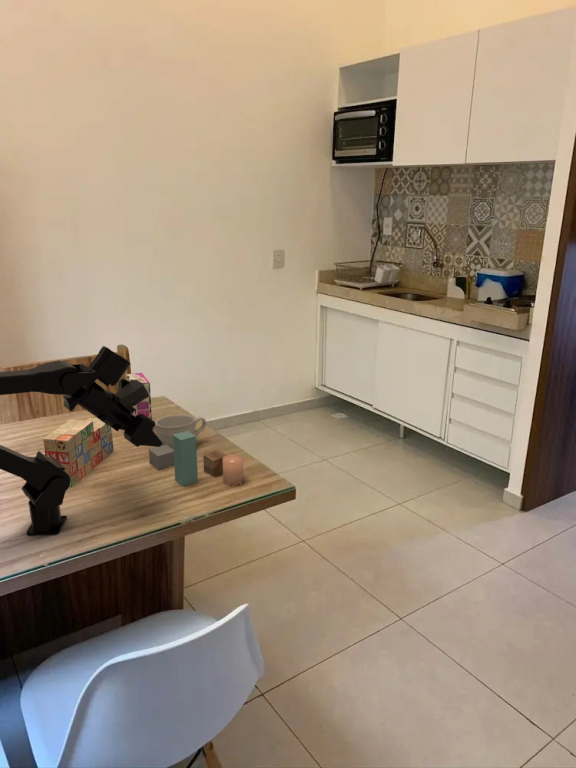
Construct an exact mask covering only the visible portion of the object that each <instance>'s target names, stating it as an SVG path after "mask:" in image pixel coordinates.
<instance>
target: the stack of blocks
mask: <svg viewBox="0 0 576 768" xmlns="http://www.w3.org/2000/svg"><path fill="white" fill-rule="evenodd" d="M42 440H43V446H44V455H45V456H48V457H54V458H55V459H56V460H57V461H58V462H59V463H60V464H61V465H62V466H63V467H64V468H65V470H64V471H65V472H66V473H67V474H68V475H69V476H70V485H69V488H73V487H75V486H76V484H78V483H79V482H81V481H82V479H84V478H85V477H86V476H87V475H89V474H90V472H92V470H94V468H96V467H97V466H98V465H99V464H100V463H101V462H102V461H104V460H105V459H106V458H107V457H108V456H109V455H110V454H111V453H112V452H113V451H114V441H113V429H112V427H110V426H109V425H107V424H105V423H104V422H102V421H101V420H100V419H98V418H97V417H88V418H87V419H86V420H82V419H81V420H80V419H69V420H67V421H66V422H65V423H64V424H61V426H59V427H58V428H57V429H55V430H54V431H52V432H51V433H49V434H48V435H46V436H44V438H42Z"/></svg>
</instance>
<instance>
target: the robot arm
mask: <svg viewBox="0 0 576 768" xmlns="http://www.w3.org/2000/svg"><path fill="white" fill-rule="evenodd" d="M131 365H132V363H131V362H129V361H128V359H126V358H125V357H123V356H121V355H120V354H117V353H116V352H114V351H113V350H112V349H110V348H109V347H107V346H106V345H102V347H101V348H100V349H99V351H98V353H97V355H96V356H95V358H93V360H92V361H91V363H90V364H89V365H87V364H84V363H74V364H73V363H72V364H71V363H69V362H67V361H65V360H55V361H50V362H46V363H41V364H40V365H37V366H35V367H32V368H29V369H20V370H19V369H18V370H8V371H0V396H6V395H15V394H25V393H41V394H42V393H43V394H48V395H57V396H58V395H60V396H62V398H63V406H64V408H66V409H67V410H68V411H70V412H73V411H74V409H75V408H76V407H77V406H79V407H81V408H82V409H84V410H85V411H87V412H88V413H90V414H91V415H93V416H94V417H95V418H98V419H100V420H101V421H102V422H104V423H105V424H107V425H109V426H110V427H111V429H112V430H115V431H116V432H119V431H120V430H121V431H123V437H124V439H125V440H127V441H128V442H129V443H131V444H132V445H134V446H135V447H137V448H138V447H140V446H143V447H146V446H147V447H154V448H156V447H160V446H161V445H162V442H161V440H160V439H159V438H158V437H157V433H156V432H155V431H154V428H155V427H156V425H155V422H156V421H154V420H153V419H152V420H151V419H150V418H148V417H147V416H145V415H144V414H138V415H136V416H133V415H132V414H133V412H134V411H135V410H136V409H135V408H134V407H132V406H135V405H137V404H138V403H139V402H141V401H142V400H144V399H146V398H148V397H149V393H148V391H147V390H146V388H145V386H144V384H143V383H141V382H140V381H138V380H133V379H132V380H131V382H129V381H128V380H127V378H124V377H122V376H124V374H125V373H126V372H127V370H128V369H129V368H130V366H131ZM96 381H98V382H100V383H101V384H103V385H104V386H105V387H107V388H109V386H111V387H114V386H116V385H117V390H116V392H115V393H113V392H112V391H108V390H107V389H106V388H105V387H102V386H101V384H99V383H97V382H96ZM0 470H2V471H4V472H6V473H8V474H12V475H13V476H16V477H19V478H21V479H23V480H24V481H25V483H24V484H23V486H22V487H21V490H22V492H23V494H24V495H25V496H26V497H27V498H28V499H29V500H28V507H29V517H30V525H29V527H28V528H27V530H26V532H25V534H26V535H27V536H35V535H36V536H41V535H42V536H43V535H58V534H60V532H61V530H62V528H63V526H64V525H65V523H66V521H67V520H68V517H67V515H62V514H61V513H62V512H61V507H60V506H61V505H63V504H64V503H63V502H64V499H65V495H66V492H67V490H68V489H69V488H70V487H69V485H70V476H69V475H68V474H67V473H66V472H65V471H64V470H65V468H64V467H63V466H62V465H61V464H60V463H59V462H58V461H57V460H56V459H55V458H54V457H48V456H45V453H43V452H41V451H40V450H38V451H37V453H36V454H35V456H28V455H24V454H22V453H20V452H18V451H15V450H13V449H11V448H8V447H7V446H5V445H2V444H0Z"/></svg>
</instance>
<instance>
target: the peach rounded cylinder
mask: <svg viewBox="0 0 576 768" xmlns="http://www.w3.org/2000/svg"><path fill="white" fill-rule="evenodd" d="M244 459H245V458H244V457H243V456H242V455H241V454H236V453H235V454H234V453H232V454H231V453H230V454H226V456H224V457H223V474H222V480H223V481H222V483H223V482H224V483H225V484H224V483H223V484H224V485H226V484H228V485H237V484H240V483H242V482H243V481H245V478H244V477H245V473H244V472H245V469H244V468H245V467H244V465H245V464H244V462H245V460H244ZM243 483H244V482H243ZM243 483H242V484H243ZM228 485H227V486H228ZM240 485H241V484H240ZM237 486H238V485H237Z"/></svg>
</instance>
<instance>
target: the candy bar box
mask: <svg viewBox="0 0 576 768" xmlns="http://www.w3.org/2000/svg"><path fill="white" fill-rule="evenodd" d="M125 376H126V378H125V379H126V380H128V381H129V382H131V380H132V379H133V380H138V381H140V382H141V383H143V384H144V386H145V388H146V390H147V391H148V393H149V397H148V398H146V399H144V400H142V401H141V402H139V403H138V404H137V405H135V406H132V407H134V408H135V409H136V410H135V411H134V412H133V414H132V415H133V416H136V415H138V414H144V415H145V416H147V417H148V418H150V419H151V420H153V419H152V418H153V417H152V399H151V398H152V397H151V382H150V381H149V379H148V378H146V376H145V375H144V374H143V372H137V373H126V374H125Z"/></svg>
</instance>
